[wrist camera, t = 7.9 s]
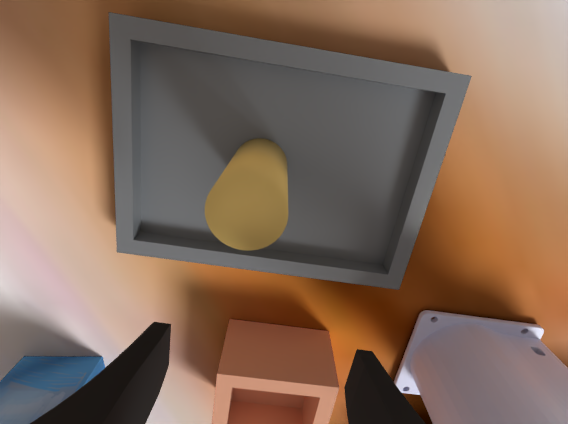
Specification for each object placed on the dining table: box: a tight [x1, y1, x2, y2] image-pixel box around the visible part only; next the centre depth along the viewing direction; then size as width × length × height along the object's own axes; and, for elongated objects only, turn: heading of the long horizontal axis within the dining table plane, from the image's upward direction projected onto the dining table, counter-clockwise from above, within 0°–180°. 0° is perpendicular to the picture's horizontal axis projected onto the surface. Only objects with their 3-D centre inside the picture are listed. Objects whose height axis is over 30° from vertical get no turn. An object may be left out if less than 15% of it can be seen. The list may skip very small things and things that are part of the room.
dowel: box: [205, 138, 288, 251], centre depth 16 cm, size 3×3×8 cm
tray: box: [109, 12, 471, 290], centre depth 19 cm, size 18×13×2 cm
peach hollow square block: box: [212, 319, 339, 424], centre depth 24 cm, size 8×8×5 cm
